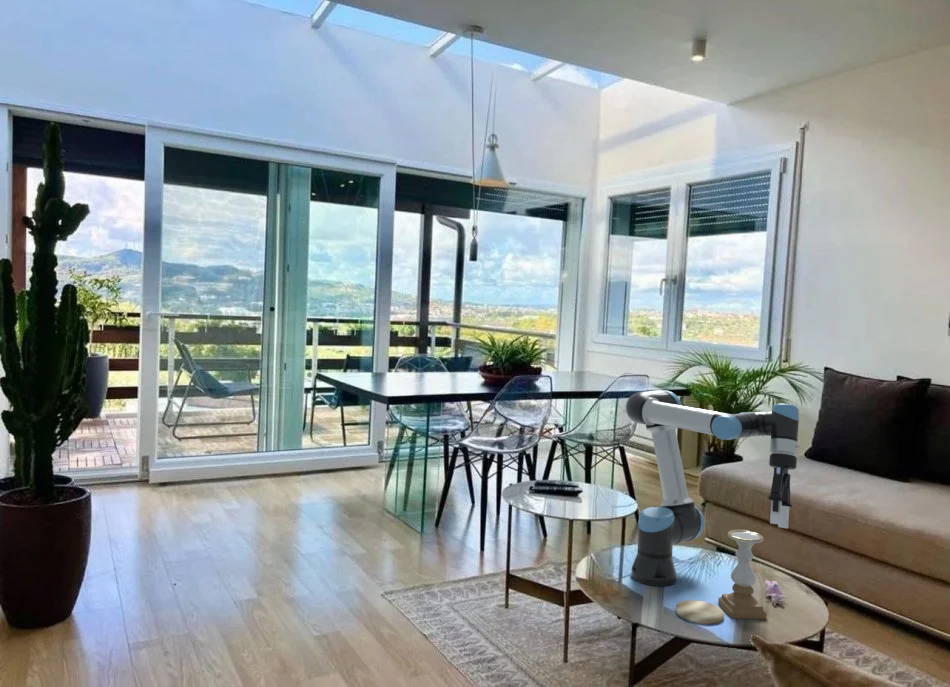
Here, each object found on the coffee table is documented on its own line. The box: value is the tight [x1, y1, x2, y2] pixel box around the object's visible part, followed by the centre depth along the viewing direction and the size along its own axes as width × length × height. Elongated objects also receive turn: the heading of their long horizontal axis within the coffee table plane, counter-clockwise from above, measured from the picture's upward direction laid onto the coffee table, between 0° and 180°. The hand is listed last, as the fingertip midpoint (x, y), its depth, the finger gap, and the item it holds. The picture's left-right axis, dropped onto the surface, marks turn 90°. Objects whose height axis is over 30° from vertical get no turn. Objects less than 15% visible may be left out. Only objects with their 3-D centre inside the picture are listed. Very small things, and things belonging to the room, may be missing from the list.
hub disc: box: [675, 599, 725, 625], centre depth 206 cm, size 14×14×1 cm
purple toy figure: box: [764, 579, 787, 608], centre depth 219 cm, size 6×6×15 cm
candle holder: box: [717, 529, 768, 620], centre depth 208 cm, size 11×11×24 cm
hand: (779, 526), depth 201 cm, fingers open, 13 cm apart
